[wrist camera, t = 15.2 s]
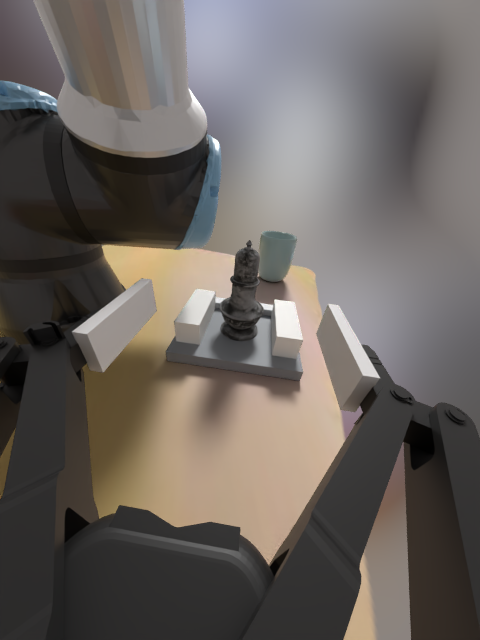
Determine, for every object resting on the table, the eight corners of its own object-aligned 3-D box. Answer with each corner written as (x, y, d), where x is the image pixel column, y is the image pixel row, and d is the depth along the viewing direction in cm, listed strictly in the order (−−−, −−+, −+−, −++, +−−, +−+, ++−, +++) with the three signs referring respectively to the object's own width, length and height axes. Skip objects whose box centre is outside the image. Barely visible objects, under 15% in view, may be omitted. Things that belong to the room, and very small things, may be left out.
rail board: (167, 360, 25) (162, 331, 22) (197, 307, 35) (196, 283, 33) (299, 380, 24) (310, 352, 21) (289, 320, 35) (296, 296, 32)
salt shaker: (265, 324, 30) (282, 240, 24) (251, 348, 26) (268, 251, 19) (229, 313, 32) (235, 231, 25) (210, 333, 27) (212, 240, 21)
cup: (291, 286, 47) (302, 240, 41) (258, 285, 46) (265, 238, 40) (281, 273, 53) (290, 232, 48) (252, 271, 52) (258, 229, 46)
